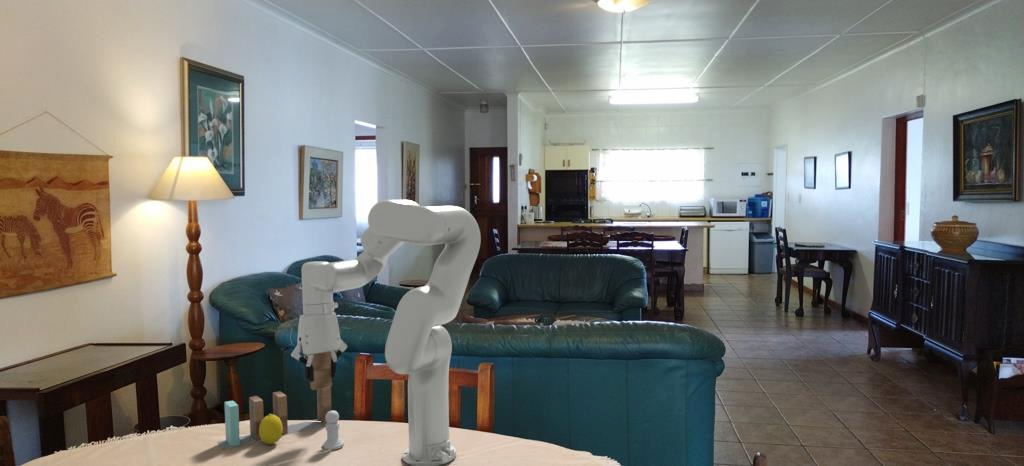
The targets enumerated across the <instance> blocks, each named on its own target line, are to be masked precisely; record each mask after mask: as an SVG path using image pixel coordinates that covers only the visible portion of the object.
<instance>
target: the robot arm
mask: <svg viewBox="0 0 1024 466" xmlns="http://www.w3.org/2000/svg"><path fill="white" fill-rule="evenodd" d="M367 225H368V227H367V228H366V229H365V230H364V231H362V233H361V236H360V244H361V247H362V249H363V252H361V253H360V254H359V255H357V257H355V258H354V259H348V260H339V261H334V262H333V261H332V262H328V261H324V260H323V261H322V260H319V261H308V262H304V263H303V264H302V266H301V288H302V290H301V291H302V312H303V313H302V314H301V315H299V319H298V327H297V328H298V329H297V341H296V342H297V344H296V346H295V348H294V349H293V351H292V352H291V353H290V356H291V357H292V358H294V359H295V360H297V361H298V362H300V363H301V364H303V365H304V376H305V379H306V380H307V381H308V382H309V383H310V382H313V381H314V370H313V366H312V364H311V363H312V359H313V355H314V354H320V353H326V352H330V354H331V377H332V379H334V378H335V376H336V373H337V364H336V363H337V362H338V359H339V358H340V356H342V353H343V352H345V351H346V350H347V348H348V345H347V344H346V343H345V342H344V340H342V338H341V332H340V327H339V326H340V325H339V321H338V316H337V313H336V312H335V309H337V308H338V307H339V304H338V302H335V301H334V294H333V293H338V292H344V291H348V290H354V289H355V290H356V289H359V288H362V287H365V286H366V285H367V284H369V283H370V282H371V281H373V279H374V278H376V277H377V276H378V275H379V274H381V272H382V271H383V270H384V268H385V267H386V264H387V262H388V257H390V256H391V255H392V254H393V253H394V252H395V251H396V250H398V248H400V247H401V246H402V245H404V244H405V243H406V244H407V243H408V244H414V245H419V246H433V245H441V244H445V246H444V248H443V250H442V251H441V252H440V253H439V255H438V257H437V259H436V261H435V263H434V265H433V268H432V273H431V274H430V277H429V279H428V282H427V283H426V284H425V285H423V286H419V287H415V288H412V289H411V290H410V289H409V290H408V291H407V292H406V293H405V294H404V295H403V296H402V298H401V299H400V301H399V302H398V304H397V307H396V310H395V312H394V313H395V314H394V316H393V319H392V322H391V326H390V329H389V331H388V335H387V338H386V341H385V347H384V357H385V361H386V363H387V366H388V367H389V368H390V370H392V371H393V372H394V373H396V374H399V375H408V380H407V414H408V418H407V419H408V447H407V448H405V449H404V450H403V452H402V461H404V463H406V464H407V465H409V466H442V465H446V464H447V463H449V462H452V461H453V460H454V459H455V458H456V457H457V449H456V448H455V447H454V446H453V445H452V444H451V440H450V418H449V416H450V411H449V409H450V408H449V407H450V406H449V405H450V404H449V385H450V384H449V374H450V373H449V370H450V363H451V357H452V350H453V349H452V346H453V345H452V338H451V336H450V333H449V332H448V330H447V328H445V327H444V326H442V325H446V324H447V323H451V321H453V320H454V319H455V318H456V317H457V314H458V312H459V311H460V310H459V309H460V307H461V304H462V301H463V299H464V295H465V292H466V289H467V287H468V283H469V281H470V276H471V273H472V271H473V268H474V265H475V263H476V260H477V258H478V255H479V251H480V247H481V242H482V241H481V230H480V227H479V224H478V222H477V220H476V219H475V217H474V216H473V214H472V213H470V212H469V211H468V210H466V209H465V208H463V207H460V206H455V205H434V206H433V205H432V206H430V205H429V206H424V205H423V206H422V205H420V204H419V203H417V202H416V201H413V200H410V199H382V200H380V201H378V202H376V203H375V204H374V205H373V206H372V207H371V208H370V210H369V212H368V216H367ZM300 353H302V354H303V355H304V356H302V355H301V354H300Z"/></svg>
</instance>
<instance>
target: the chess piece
mask: <svg viewBox="0 0 1024 466" xmlns="http://www.w3.org/2000/svg"><path fill="white" fill-rule="evenodd" d="M339 414H340V413H339V412H337V410H332V409H331V411H329V412H327V414H326V416H325V419H326V422H327V424H326V425H325V431H326V435H327V436H326V437H327V438H326V439H325V441H324V442H323V443H322V448H323V449H324V450H329V451H334V450H339V449H341V448H343V447H344V446H345V441H344V439H342V438H340V437H339V430H340V422H339V419H340V415H339Z"/></svg>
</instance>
